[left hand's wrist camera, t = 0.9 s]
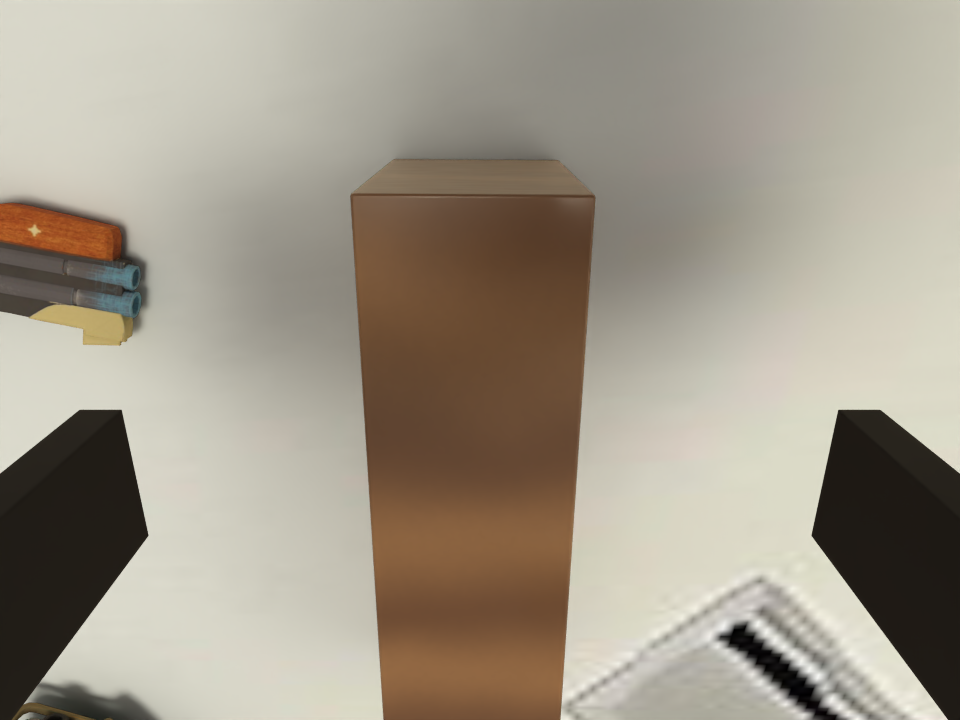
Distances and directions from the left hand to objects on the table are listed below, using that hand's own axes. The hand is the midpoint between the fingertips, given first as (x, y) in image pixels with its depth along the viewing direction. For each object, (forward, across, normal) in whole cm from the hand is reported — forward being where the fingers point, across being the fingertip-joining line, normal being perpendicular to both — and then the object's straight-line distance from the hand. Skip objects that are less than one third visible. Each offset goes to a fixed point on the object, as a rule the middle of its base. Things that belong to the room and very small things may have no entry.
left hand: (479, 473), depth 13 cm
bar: (+14, 0, -7) cm, 15 cm away
